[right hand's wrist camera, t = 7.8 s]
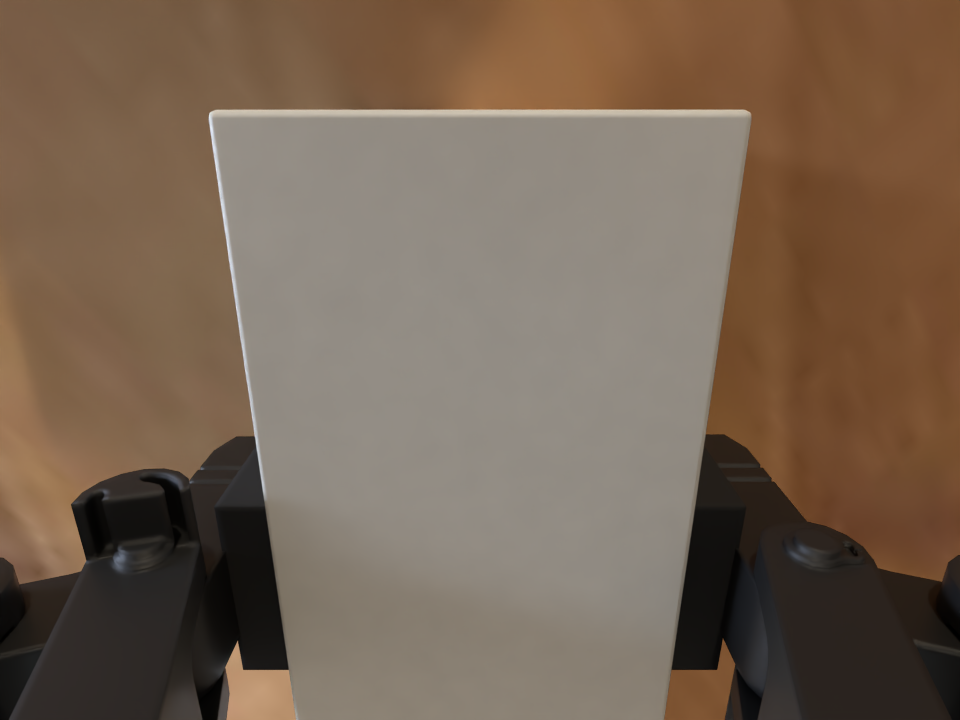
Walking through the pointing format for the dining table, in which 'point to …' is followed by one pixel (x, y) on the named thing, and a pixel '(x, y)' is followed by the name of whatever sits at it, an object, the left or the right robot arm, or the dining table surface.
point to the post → (480, 395)
